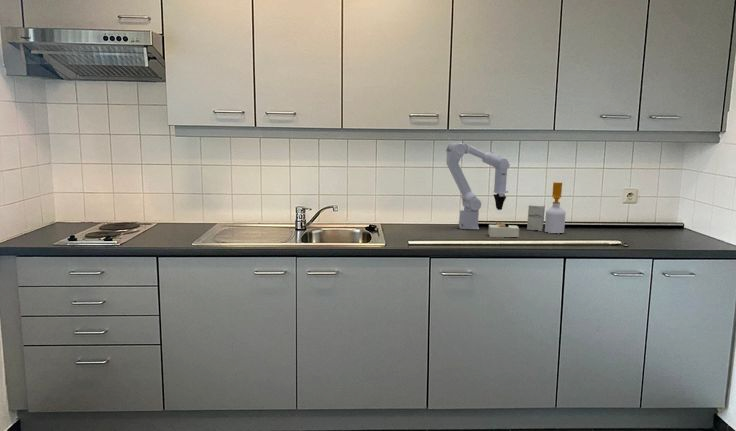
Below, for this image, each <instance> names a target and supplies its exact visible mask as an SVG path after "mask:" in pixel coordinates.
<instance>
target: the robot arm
mask: <svg viewBox="0 0 736 431" xmlns="http://www.w3.org/2000/svg"><path fill="white" fill-rule="evenodd" d="M445 151H446V161H445V162H446V163H445V164H446V166H447V168H448V170H449V171H450V173H451V176H452V178H453V180H454V182H455V184H456V185H457V188H458V190H459V192H460V194H461V196H460V198H461V201H462V206H463V207H464V208H463V210H460V211H459V218H458V220H459V222H458V225H459V226H458V227H459V229H460V230H478V231H479V230H480V227H479V212H480V209H481V207H482V202H481V199H479V198H478V197H477V196H476V193H474V192H473V191H472V188H471V187H470V185H469V183H468V181H467V178H466V176H465V175H464V173H463V170H462V169H461V166H460V164H459V162H460V160H461V158H462V157H463V156H464V155H465V154H469V155H472V156H475V157H476V158H479V159H481V161H482V163H483V164H487V165H489V166H491V167H493V168H494V169H495V170H494V171H495V172H494V184H493V185H494V186H493V187H494V188H493V194H492V195H493V198H494V202H495V207H496V209H497V211H501V210H503V206H504V203H505V201H506V199H507V196H506V193H507V194H508V193H509V191H508V190H507V180H508V178H507V176H508V169H509V168H510V166H511V164H510V161H508V159H507V158H503V157H502V156H501V155H497V154H495V153H494V152H493V151H485V152H484V151H482V150H480V149H478V148H476V147H474V146H472V145H471V144H467V143H463V142H456V141H451V142H450V143H448V145H447V147H446V150H445ZM494 193H495V194H494Z"/></svg>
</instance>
